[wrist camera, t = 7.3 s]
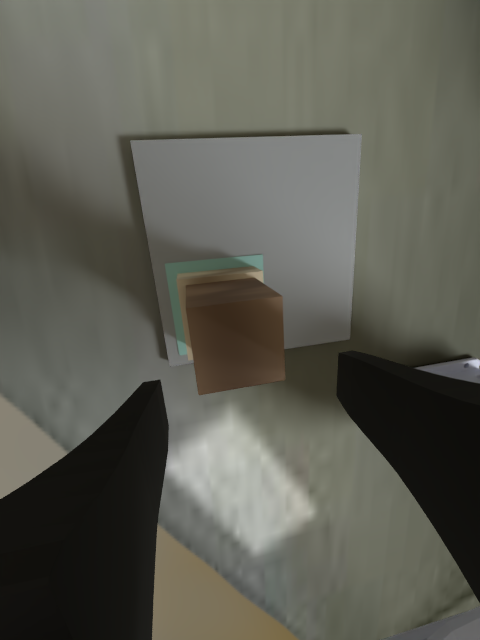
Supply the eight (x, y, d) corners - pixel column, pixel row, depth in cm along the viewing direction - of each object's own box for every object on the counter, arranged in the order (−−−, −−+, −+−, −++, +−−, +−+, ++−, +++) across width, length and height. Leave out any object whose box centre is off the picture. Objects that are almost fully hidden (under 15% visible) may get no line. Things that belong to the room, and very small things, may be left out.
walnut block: (254, 277, 16) (282, 296, 11) (258, 340, 17) (285, 380, 13) (185, 285, 16) (185, 308, 11) (194, 349, 17) (198, 395, 12)
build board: (354, 138, 18) (362, 133, 17) (344, 335, 22) (350, 339, 22) (132, 144, 16) (129, 139, 15) (170, 361, 20) (169, 367, 20)
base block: (253, 266, 18) (263, 271, 16) (257, 335, 20) (266, 348, 18) (177, 273, 18) (176, 280, 15) (188, 344, 19) (188, 360, 17)
